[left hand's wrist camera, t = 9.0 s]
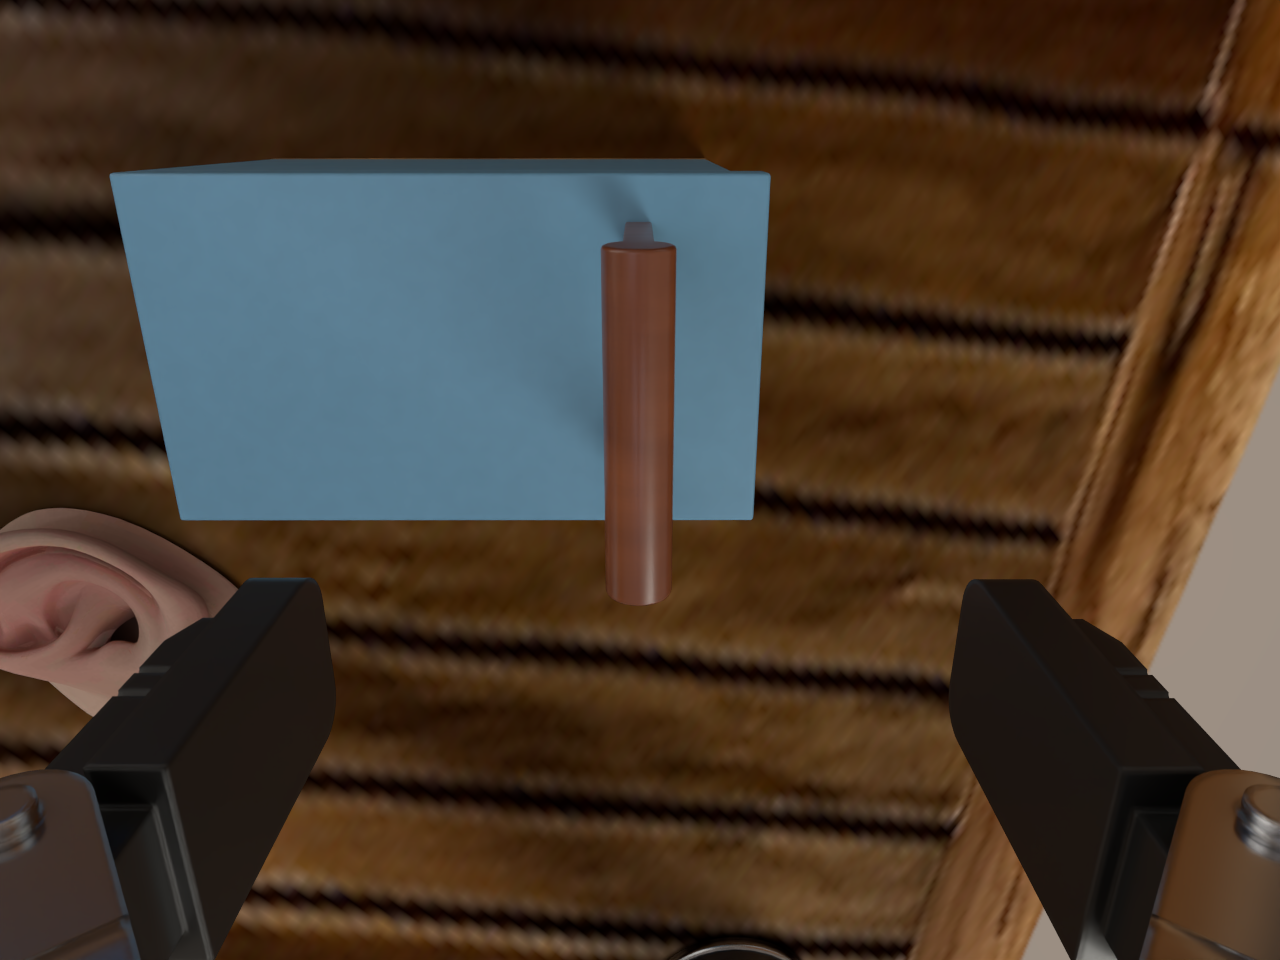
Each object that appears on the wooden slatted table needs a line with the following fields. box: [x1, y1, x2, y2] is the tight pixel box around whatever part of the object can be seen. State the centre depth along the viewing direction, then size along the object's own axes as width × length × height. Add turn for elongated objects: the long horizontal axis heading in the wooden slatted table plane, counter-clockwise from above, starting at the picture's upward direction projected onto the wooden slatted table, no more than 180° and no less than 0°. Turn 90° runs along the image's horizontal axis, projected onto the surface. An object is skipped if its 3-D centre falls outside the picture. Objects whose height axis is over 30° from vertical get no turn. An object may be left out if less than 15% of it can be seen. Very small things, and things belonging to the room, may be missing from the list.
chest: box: [140, 158, 729, 171], centre depth 31 cm, size 16×10×11 cm, turn 90°
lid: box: [110, 171, 770, 606], centre depth 22 cm, size 17×10×8 cm, turn 90°
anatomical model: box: [0, 508, 238, 717], centre depth 39 cm, size 13×4×12 cm
